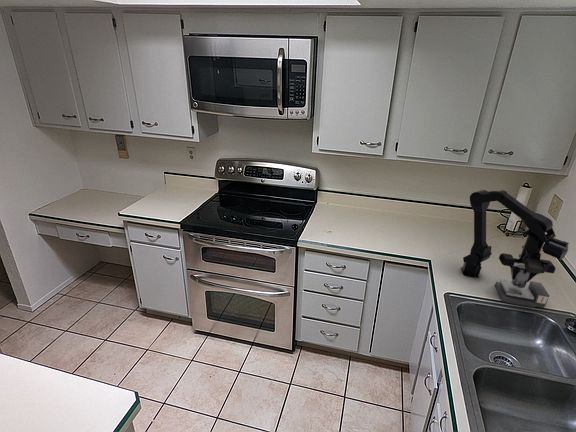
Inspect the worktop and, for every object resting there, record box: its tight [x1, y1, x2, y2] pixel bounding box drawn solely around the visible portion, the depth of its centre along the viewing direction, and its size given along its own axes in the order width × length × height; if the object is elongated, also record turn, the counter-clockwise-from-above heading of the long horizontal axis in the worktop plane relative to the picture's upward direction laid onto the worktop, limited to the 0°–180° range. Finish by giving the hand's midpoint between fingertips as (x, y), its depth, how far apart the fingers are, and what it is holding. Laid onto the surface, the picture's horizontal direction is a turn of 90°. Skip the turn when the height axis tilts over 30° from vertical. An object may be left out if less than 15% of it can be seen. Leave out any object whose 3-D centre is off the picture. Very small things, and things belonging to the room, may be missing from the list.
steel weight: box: [511, 264, 530, 288], centre depth 145 cm, size 5×5×8 cm
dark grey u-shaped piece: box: [494, 280, 550, 309], centre depth 148 cm, size 16×12×6 cm
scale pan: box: [499, 279, 534, 300], centre depth 148 cm, size 10×10×1 cm
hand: (519, 280), depth 146 cm, fingers closed on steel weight, 5 cm apart
